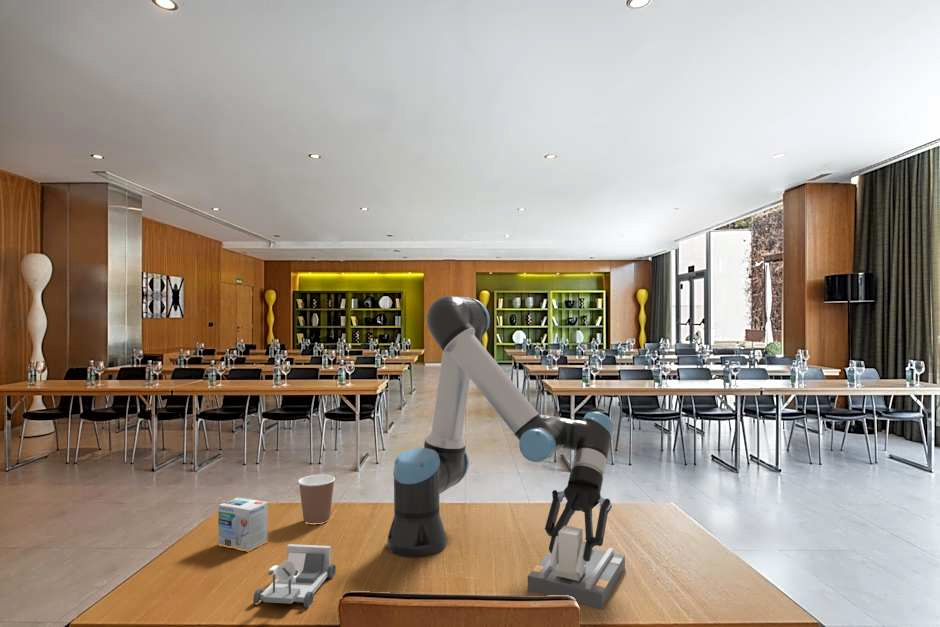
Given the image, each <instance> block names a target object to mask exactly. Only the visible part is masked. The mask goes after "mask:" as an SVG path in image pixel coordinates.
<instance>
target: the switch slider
mask: <svg viewBox="0 0 940 627" xmlns="http://www.w3.org/2000/svg"><path fill="white" fill-rule="evenodd" d="M558 541H559V567H558V568H557V569H556V576H559V577H563V578H567V579H572V580H576V581H579V580H580V578H579V577H578V576H577V574H576V572H575V571H576V567H577V562H578V557H579V552H580V548H581V543H582V541H583V528H579V527H574V526H570V525H567V526H564V527H563V528H562V529H561V530H560V531H559V532H558ZM585 571H586V566H585V565H584V569H583V574H584V573H585ZM583 574H582V576H583Z"/></svg>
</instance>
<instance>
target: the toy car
mask: <svg viewBox="0 0 940 627" xmlns="http://www.w3.org/2000/svg"><path fill="white" fill-rule="evenodd" d="M286 557H287V558H286V560H285V561H283V562H281V563H280V564H279V565H278V564H276V565H273V566H271V567H270V568H269V570H268V571H269V572H268V576H272V582H271V583H270V584H269V585H268V586H267V587H266V588H265V589H263V588H257V589H256V590H255V591H254V594H253V598H252V603H253V604H254V603H258V602H259V600H263V601H262V602H263V603H273V604H274V603H275V604H289V605H291V604H293V603H294V602H295V603H303V607H304V609H309V608H310V607H311V606H312V605H313V603H314V594H315V593H316V591H317V590H318V589H319V588H320V586H322V584H323V583H324V582H325V580H326V579H327V578H328V579H329V580H332V579H334V576H335V575H336V572H337V571H336V570H337V568H336V567H337V566H336V564H332V546H331V545H317V544H316V545H315V544H313V545H312V544H310V545H309V544H295V543H293V544H292V543H291V544H290V543H288V544H287V546H286ZM311 604H312V605H311ZM310 605H311V606H310ZM309 606H310V607H309Z"/></svg>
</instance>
